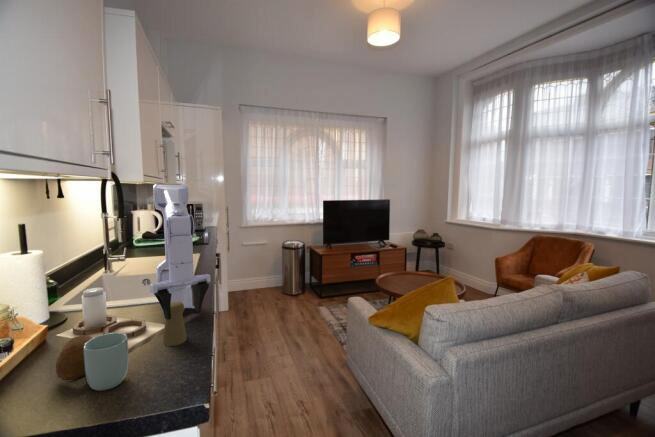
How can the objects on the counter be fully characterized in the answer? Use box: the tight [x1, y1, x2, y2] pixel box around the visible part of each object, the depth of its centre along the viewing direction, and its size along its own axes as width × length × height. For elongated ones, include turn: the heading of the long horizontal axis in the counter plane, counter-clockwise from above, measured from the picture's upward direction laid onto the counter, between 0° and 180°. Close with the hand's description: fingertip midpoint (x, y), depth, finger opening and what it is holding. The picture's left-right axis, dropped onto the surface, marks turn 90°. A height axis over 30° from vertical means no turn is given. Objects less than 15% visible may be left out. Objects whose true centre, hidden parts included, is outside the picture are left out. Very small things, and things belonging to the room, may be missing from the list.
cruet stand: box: [55, 314, 165, 354], centre depth 89 cm, size 14×25×3 cm, turn 76°
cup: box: [83, 333, 130, 392], centre depth 67 cm, size 8×8×10 cm
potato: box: [55, 336, 93, 382], centre depth 71 cm, size 8×12×9 cm
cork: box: [162, 302, 187, 347], centre depth 86 cm, size 6×6×11 cm
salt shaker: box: [81, 287, 108, 329], centre depth 90 cm, size 6×6×11 cm
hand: (183, 314), depth 79 cm, fingers open, 7 cm apart
